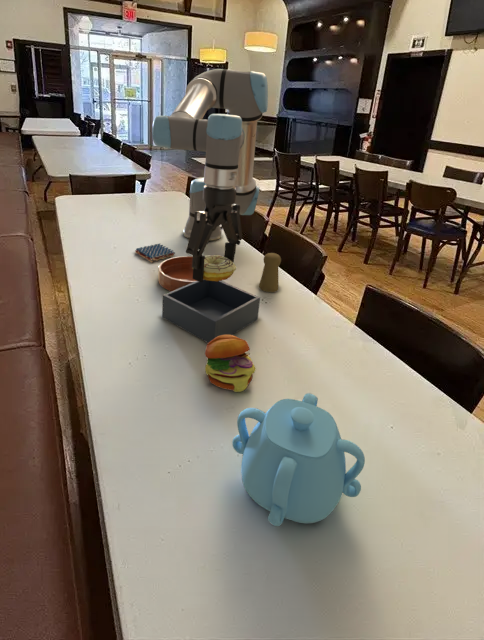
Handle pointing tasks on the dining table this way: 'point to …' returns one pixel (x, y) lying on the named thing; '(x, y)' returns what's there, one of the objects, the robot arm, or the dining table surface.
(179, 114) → the robot arm
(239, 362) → the cheeseburger
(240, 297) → the bin
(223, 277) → the decorated donut
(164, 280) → the bowl
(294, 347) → the dining table surface
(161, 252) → the woven mat
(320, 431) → the decorative pot
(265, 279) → the brown pawn
